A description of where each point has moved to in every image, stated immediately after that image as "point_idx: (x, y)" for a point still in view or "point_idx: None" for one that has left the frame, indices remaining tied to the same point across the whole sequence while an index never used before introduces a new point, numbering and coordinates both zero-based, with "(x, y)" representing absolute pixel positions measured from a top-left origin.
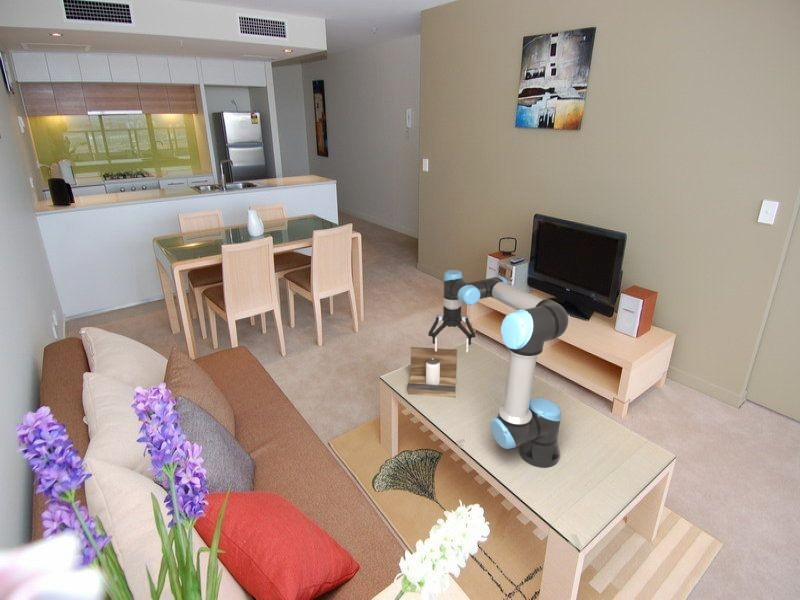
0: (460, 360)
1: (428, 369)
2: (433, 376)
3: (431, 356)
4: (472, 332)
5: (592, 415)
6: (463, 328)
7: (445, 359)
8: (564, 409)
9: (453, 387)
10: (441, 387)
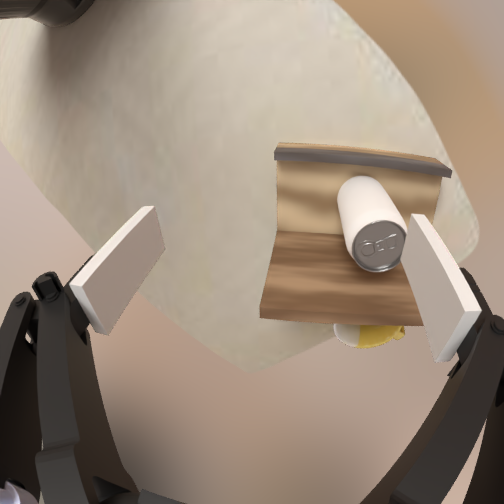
0: (267, 322)
1: (396, 209)
2: (368, 190)
3: (378, 289)
4: (4, 336)
5: (8, 147)
6: (40, 415)
7: (316, 278)
8: (34, 150)
9: (283, 151)
10: (331, 153)
